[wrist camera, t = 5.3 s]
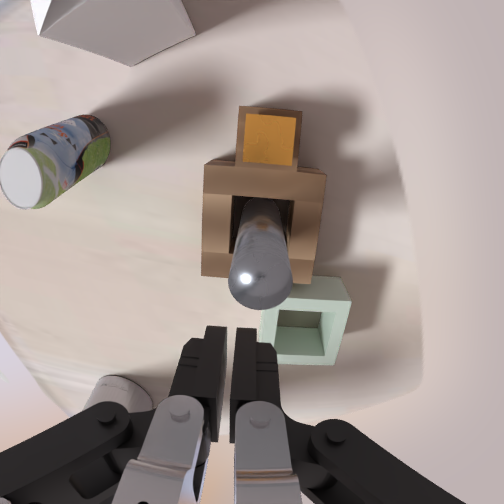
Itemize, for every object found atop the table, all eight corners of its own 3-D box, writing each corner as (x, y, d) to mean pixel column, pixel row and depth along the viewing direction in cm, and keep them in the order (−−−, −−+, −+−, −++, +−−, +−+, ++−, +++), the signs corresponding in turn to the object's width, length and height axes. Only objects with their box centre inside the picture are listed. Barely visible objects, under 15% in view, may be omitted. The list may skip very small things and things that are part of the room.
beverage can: (111, 108, 27) (38, 107, 16) (120, 179, 30) (53, 210, 18) (63, 122, 27) (-16, 131, 16) (72, 188, 30) (-1, 221, 19)
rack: (326, 337, 36) (334, 365, 31) (259, 334, 36) (258, 362, 31) (340, 277, 33) (351, 301, 28) (265, 271, 33) (266, 296, 28)
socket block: (305, 266, 33) (310, 284, 29) (207, 258, 33) (201, 275, 29) (323, 117, 27) (332, 115, 23) (214, 107, 27) (207, 104, 23)
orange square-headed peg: (285, 158, 28) (291, 165, 23) (245, 155, 28) (242, 161, 23) (289, 119, 26) (296, 117, 21) (248, 116, 26) (245, 113, 21)
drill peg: (277, 234, 31) (288, 312, 18) (240, 231, 31) (227, 307, 18) (281, 198, 30) (296, 255, 17) (243, 195, 30) (229, 250, 17)
